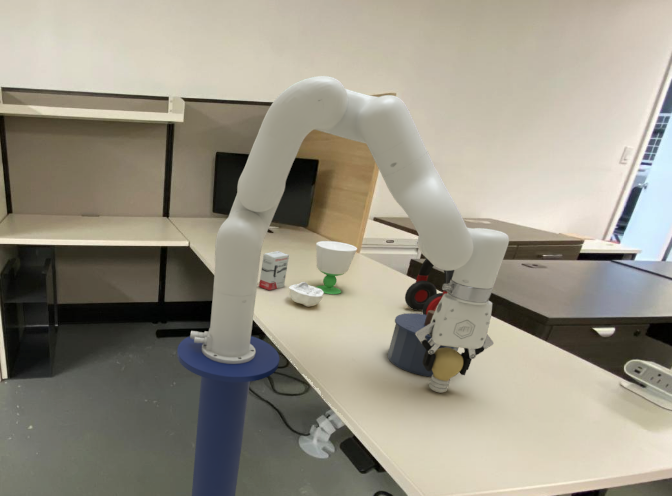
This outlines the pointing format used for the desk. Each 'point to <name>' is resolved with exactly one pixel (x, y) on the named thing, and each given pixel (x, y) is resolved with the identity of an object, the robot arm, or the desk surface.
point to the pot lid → (414, 321)
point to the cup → (333, 262)
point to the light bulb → (445, 368)
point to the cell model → (305, 294)
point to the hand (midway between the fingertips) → (443, 369)
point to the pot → (409, 352)
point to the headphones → (425, 290)
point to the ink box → (273, 270)
